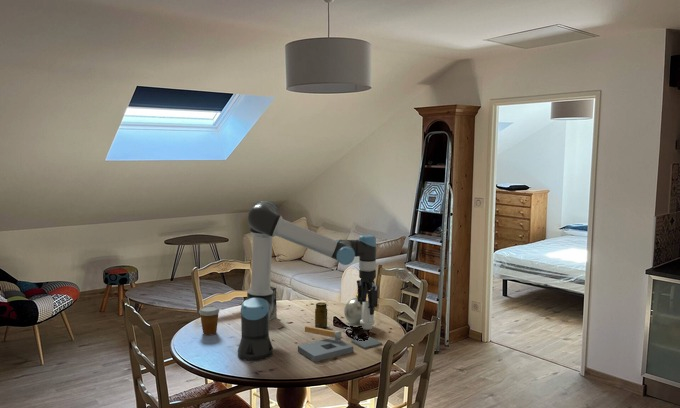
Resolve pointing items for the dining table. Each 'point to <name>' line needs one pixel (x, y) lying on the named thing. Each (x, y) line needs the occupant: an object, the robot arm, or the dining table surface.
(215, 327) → the disposable coffee cup
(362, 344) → the pad
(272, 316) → the coffee box
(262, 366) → the dining table surface
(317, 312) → the condiment
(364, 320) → the white tall cylinder
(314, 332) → the orange rectangular bar
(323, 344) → the socket board
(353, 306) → the teapot
